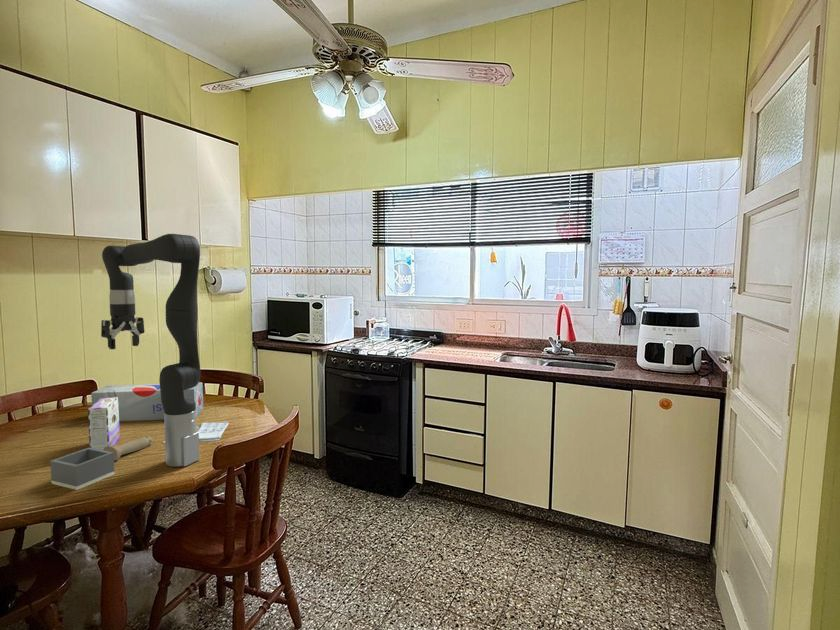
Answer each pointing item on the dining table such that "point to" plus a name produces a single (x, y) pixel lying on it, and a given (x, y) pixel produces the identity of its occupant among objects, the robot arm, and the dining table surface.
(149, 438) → the handle
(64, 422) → the dining table surface
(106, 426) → the candy box
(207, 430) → the folded bicycle print towel
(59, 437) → the dining table surface
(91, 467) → the socket
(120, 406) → the soda pack
